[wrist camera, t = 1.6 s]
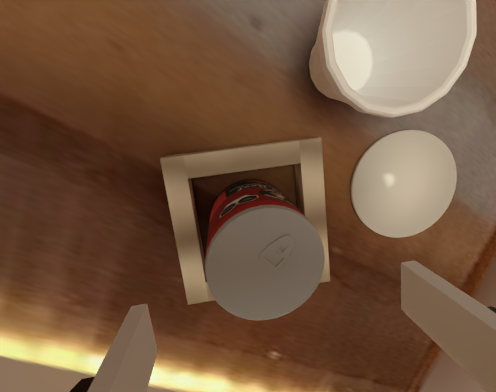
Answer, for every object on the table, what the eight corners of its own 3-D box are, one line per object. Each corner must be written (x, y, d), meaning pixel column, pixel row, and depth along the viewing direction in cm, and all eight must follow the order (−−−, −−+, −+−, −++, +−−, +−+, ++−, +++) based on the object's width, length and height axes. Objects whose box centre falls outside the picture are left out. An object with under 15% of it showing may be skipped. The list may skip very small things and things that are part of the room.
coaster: (347, 137, 28) (350, 137, 28) (454, 123, 29) (459, 123, 28) (352, 242, 31) (354, 244, 30) (449, 227, 31) (454, 229, 31)
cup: (413, 65, 27) (509, 34, 18) (336, 143, 28) (391, 149, 19) (345, -24, 25) (416, -109, 16) (264, 64, 26) (288, 29, 17)
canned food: (299, 195, 29) (347, 233, 18) (266, 263, 30) (292, 336, 20) (229, 164, 28) (235, 186, 17) (197, 238, 29) (185, 301, 18)
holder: (165, 155, 27) (159, 158, 24) (312, 136, 28) (321, 137, 25) (190, 290, 30) (187, 304, 28) (321, 269, 31) (330, 281, 29)
